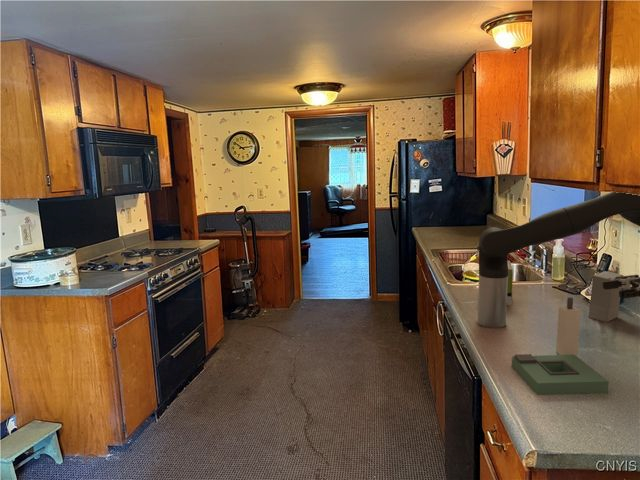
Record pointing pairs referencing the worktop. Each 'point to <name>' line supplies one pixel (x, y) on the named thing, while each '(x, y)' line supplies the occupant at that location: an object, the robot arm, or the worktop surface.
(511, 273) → the tea box
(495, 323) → the robot arm
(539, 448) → the worktop surface
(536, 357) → the green square socket base
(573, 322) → the plug
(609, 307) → the skincare box
